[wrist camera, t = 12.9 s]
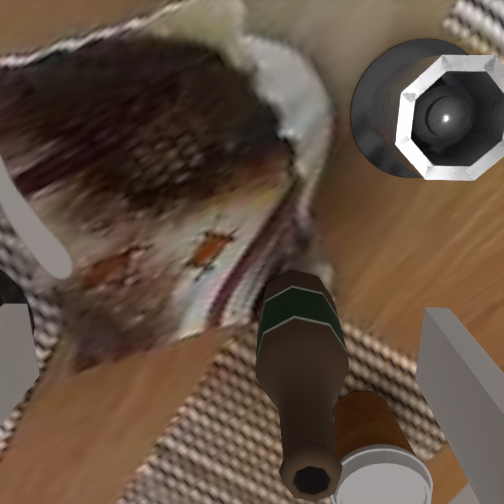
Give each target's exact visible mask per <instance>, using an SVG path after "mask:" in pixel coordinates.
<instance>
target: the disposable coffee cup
mask: <svg viewBox="0 0 504 504" xmlns="http://www.w3.org/2000/svg"><path fill="white" fill-rule="evenodd" d="M334 437H335V450H336V457H337V458H338V460H339V461H340V463H341V464H342V465H343V467H342V472H341V477H340V480H339V483H338V485H337V488H336V491H335V493H334V494H333V495H331V500H332V502H333V504H431V494H432V490H433V483H432V478H431V475H430V473H429V471H428V470H427V468H426V466H425V465H424V464H423V463H422V461H421V460H419V459H418V458H417V457H416V455H415V453H414V452H413V450H412V448H411V447H410V444H409V443H408V441H407V439H406V437H405V436H404V434H403V432H402V431H401V428H400V427H399V425H398V423H397V421H396V420H395V418H394V416H393V414H392V413H391V410H390V409H389V407H388V405H387V403H386V402H385V400H384V399H383V398H382V397H380V396H379V395H377V394H375V393H373V392H369V391H356V392H353V393H350V394H348V395H346V396H344V397H343V398H342V399H341V400H340V401H339V402H338V403H337V405H336V407H335V410H334Z"/></svg>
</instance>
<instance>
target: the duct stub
mask: <svg viewBox="0 0 504 504" xmlns="http://www.w3.org/2000/svg"><path fill="white" fill-rule="evenodd" d="M439 55H469V54H468V53H467V52H465V51H464V50H463V49H461V48H460V47H458V46H456V45H454V44H452V43H449V42H447V41H443V40H438V39H417V40H412V41H408V42H405V43H402V44H399V45H397V46H395V47H393V48H391V49H389V50H388V51H386V52H385V53H383V54H382V55H381V56H379V57H378V58H377V59H376V60H375V61H374V62H373V63H372V64H371V65H370V66H369V67H368V69H367V70H366V71H365V73H364V74H363V75H362V77H361V79H360V81H359V83H358V85H357V87H356V90H355V92H354V96H353V99H352V104H351V128H352V132H353V136H354V138H355V141H356V143H357V145H358V147H359V149H360V151H361V152H362V153H363V155H364V156H365V157H366V158H367V159H368V160H369V161H370V162H371V163H372V164H373V165H375V166H376V167H377V168H379V169H380V170H382V171H384V172H386V173H389V174H391V175H394V176H398V177H404V178H420V177H421V176H419V175H418V174H416V173H415V172H413V171H411V170H410V169H408V168H407V167H405V166H404V165H402V164H400V163H399V162H397V161H396V160H394V159H393V158H392V157H391V156H390V154H389V153H388V152H387V151H386V150H385V149H384V148H383V146H382V145H381V144H380V143H379V142H378V141H377V140H376V138H375V137H374V136H373V135H372V134H371V133H370V132H369V131H370V120H371V110H372V99H373V91H374V90H375V89H376V88H377V87H378V86H379V85H380V84H382V83H383V82H384V81H385V80H386V79H387V78H388V77H389V76H390V75H391V74H392V73H393V72H394V71H395V70H396V69H397V68H399V67H400V66H401V65H402V64H403V63H404V62H406V61H411V60H417V59H422V58H428V57H433V56H439ZM474 118H475V106H474V102H473V100H472V98H471V97H470V95H469V94H468V93H467V92H466V91H464V90H463V89H461V88H459V87H455V86H447V84H446V83H445V82H444V81H443V79H442V78H441V77H440V78H438V79H437V80H436V81H435V82H434V83H433V84H432V85H431V86H430V87H429V88H427V89H426V90H425V91H424V92H423V93H422V94H421V95H420V96H419V97H418V98H416V99H415V104H414V113H413V121H412V129H411V137H410V139H411V140H412V141H413V143H414V144H415V145H416V146H417V147H418V149H429V148H430V147H431V146H432V145H436V146H447V145H451V144H454V143H456V142H458V141H459V140H461V139H462V138H463V137H464V136H465V135H466V134H467V133H468V132H469V130H470V129H471V127H472V125H473V122H474Z"/></svg>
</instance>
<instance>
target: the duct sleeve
mask: <svg viewBox="0 0 504 504" xmlns="http://www.w3.org/2000/svg"><path fill="white" fill-rule="evenodd" d="M440 77H441V78H442V79H443V81H444V82H445V83H446V84H447V86H455V87H459V88H461V89H463V90H464V91H466V92H467V93H468V94H469V95H470V97H471V98H472V100H473V102H474V106H475V118H474V122H473V125H472V127H471V129H470V130H469V132H468V133H467V134H466V135H465V136H464V137H463V138H462V139H461V140H459V141H458V142H456V143H454V144H451V145H447V146H436V145H432V146H431V147H430V148H429V149H418V147H417V146H416V145H415V144H414V143H413V141H412V140H411V139H410V137H411V129H412V121H413V113H414V104H415V99H416V98H418V97H419V96H420V95H421V94H422V93H423V92H424V91H425V90H426V89H427V88H429V87H430V86H431V85H432V84H433V83H434V82H435V81H436V80H437V79H438V78H440ZM369 132H370V133H371V134H372V135H373V136H374V137H375V138H376V140H377V141H378V142H379V143H380V144H381V145H382V146H383V148H384V149H385V150H386V151H387V152H388V153H389V154H390V156H391V157H392V158H393V159H394V160H396V161H397V162H399V163H400V164H402V165H404V166H405V167H407V168H408V169H410V170H411V171H413V172H415V173H416V174H418V175H419V176H421V177H422V178H424V179H426V180H475V179H477V178H478V177H479V176H480V175H482V174H483V173H484V172H485V171H486V170H488V169H489V168H490V167H491V166H493V165H494V164H495V163H496V162H497V161H499V160H500V159H501V158H502V157H504V65H503V64H502V63H501V62H500V60H499V59H498V58H497V56H496V55H439V56H433V57H428V58H422V59H417V60H411V61H406V62H404V63H403V64H402V65H401V66H400V67H399V68H397V69H396V70H395V71H394V72H393V73H392V74H391V75H390V76H389V77H388V78H387V79H386V80H385V81H384V82H383V83H382V84H380V85H379V86H378V87H377V88H376V89H375V90H374V91H373V99H372V110H371V120H370V131H369Z"/></svg>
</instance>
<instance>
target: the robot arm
mask: <svg viewBox="0 0 504 504" xmlns="http://www.w3.org/2000/svg"><path fill="white" fill-rule="evenodd" d="M33 331H34V327H33V318H32V314H31V310H30V308H29V305H28V303H27V301H26V299H25V297H24V296H23V294H22V292H21V291H20V290H19V288H18V287H17V286H16V285H15V284H14V282H13V281H12V280H11V279H10V278H9V277H7V276H6V275H5V274H4V273H3V272H1V271H0V426H1V424H2V423H3V422H4V421H5V419H6V418H7V417H8V415H9V414H10V413H11V411H12V410H13V409H14V408H15V406H16V405H17V404H18V402H19V401H20V400H21V398H22V397H23V396H24V395H25V393H26V392H27V391H28V389H29V388H30V387H31V385H32V384H33V383H34V382H35V380H36V379H37V378H38V376H39V375H40V374H39V368H38V363H37V357H36V351H35V346H34V340H33ZM415 380H416V382H417V384H418V386H419V388H420V390H421V392H422V394H423V396H424V397H425V399H426V401H427V403H428V405H429V407H430V409H431V411H432V413H433V415H434V417H435V418H436V420H437V422H438V424H439V426H440V428H441V430H442V432H443V434H444V436H445V438H446V439H447V441H448V443H449V445H450V447H451V449H452V451H453V453H454V455H455V457H456V459H457V460H458V462H459V464H460V466H461V468H462V470H463V472H464V474H465V476H466V478H467V480H468V481H469V483H470V485H471V487H472V489H473V491H474V493H475V495H476V496H477V499H478V500H479V502H480V504H504V373H503V372H502V371H501V369H500V368H499V367H498V366H497V365H496V363H495V362H494V361H493V360H492V359H491V358H490V356H489V355H488V354H487V353H486V352H485V350H484V349H483V348H482V347H481V346H480V345H479V343H478V342H477V341H476V340H475V339H474V337H473V336H472V335H471V334H470V333H469V331H468V330H467V329H466V328H465V327H464V326H463V324H462V323H461V322H460V321H459V320H458V318H457V317H456V316H455V315H454V314H453V313H452V311H451V310H450V309H449V308H425V311H424V319H423V326H422V333H421V340H420V348H419V355H418V362H417V369H416V377H415Z"/></svg>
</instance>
